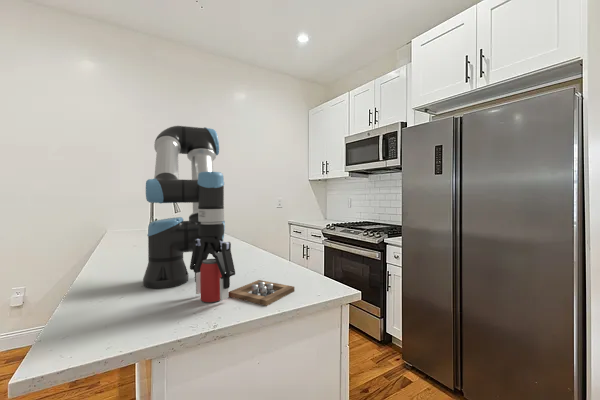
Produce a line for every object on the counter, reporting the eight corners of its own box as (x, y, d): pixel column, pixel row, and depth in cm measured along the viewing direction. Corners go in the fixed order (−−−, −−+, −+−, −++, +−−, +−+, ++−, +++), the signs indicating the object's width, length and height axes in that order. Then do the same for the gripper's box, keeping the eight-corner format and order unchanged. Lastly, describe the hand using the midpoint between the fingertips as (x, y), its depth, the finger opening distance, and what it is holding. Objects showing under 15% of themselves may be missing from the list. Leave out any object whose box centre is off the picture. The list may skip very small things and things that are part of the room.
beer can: (216, 304, 86) (216, 263, 86) (196, 302, 88) (195, 262, 87) (226, 296, 93) (226, 258, 92) (207, 295, 94) (207, 257, 94)
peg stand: (250, 294, 94) (250, 285, 94) (261, 290, 99) (261, 281, 99) (263, 297, 92) (263, 288, 92) (274, 292, 96) (274, 283, 96)
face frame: (228, 296, 93) (228, 291, 93) (258, 284, 106) (258, 279, 106) (266, 305, 85) (266, 300, 85) (294, 291, 98) (294, 286, 98)
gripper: (176, 222, 92) (177, 293, 93) (229, 225, 81) (229, 307, 81) (196, 220, 99) (197, 286, 99) (247, 223, 87) (248, 298, 88)
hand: (211, 295), depth 90 cm, fingers open, 10 cm apart
